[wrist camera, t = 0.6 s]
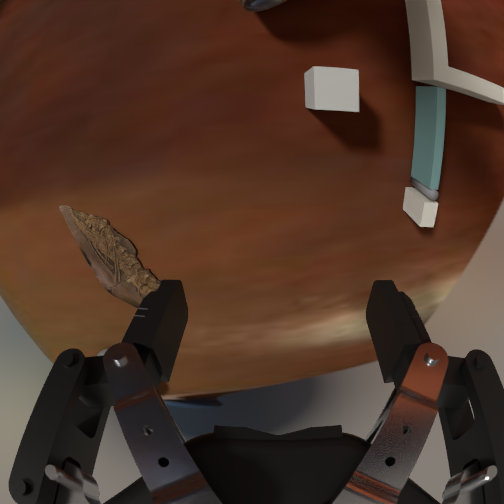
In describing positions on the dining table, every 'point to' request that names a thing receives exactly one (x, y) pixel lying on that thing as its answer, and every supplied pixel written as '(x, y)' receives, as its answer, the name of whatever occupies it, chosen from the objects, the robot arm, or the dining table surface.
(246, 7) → the tin
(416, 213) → the grey angled piece
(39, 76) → the dining table surface
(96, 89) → the dining table surface
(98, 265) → the wooden fragment
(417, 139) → the teal long flat block
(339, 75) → the block
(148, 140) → the dining table surface
